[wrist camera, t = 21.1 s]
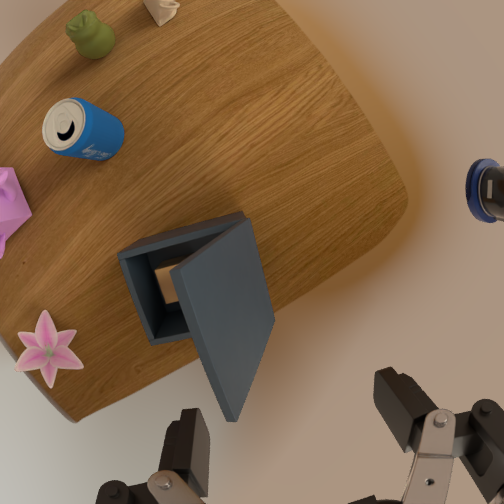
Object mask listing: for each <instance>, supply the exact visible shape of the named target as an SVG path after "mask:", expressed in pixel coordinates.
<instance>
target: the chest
mask: <svg viewBox="0 0 504 504" xmlns="http://www.w3.org/2000/svg"><path fill="white" fill-rule="evenodd" d="M242 219H246V217H245V215H244V213H243V211H241V212H237V213H233V214H229V215H225V216H221V217H218V218H214V219H210V220H206V221H203V222H199V223H195V224H192V225H188V226H184V227H181V228H177V229H174V230H170V231H167V232H163V233H160V234H156V235H153V236H149V237H146V238H143V239H139V240H138V241H136V242H134V243H133V244H131V245H130V246H128V247H126V248H125V249H123V250H122V251H120V252H119V253H117V256H118V259H119V262H120V265H121V268H122V271H123V274H124V277H125V280H126V283H127V286H128V288H129V291H130V294H131V297H132V299H133V302H134V305H135V307H136V310H137V312H138V315H139V317H140V320H141V323H142V325H143V327H144V330H145V332H146V335H147V337H148V339H149V342H150V344H151V346H153V345H158V344H163V343H168V342H173V341H178V340H183V339H187V338H192V336H191V333H190V331H189V328H188V325H187V323H186V320H185V317H184V314H183V311H182V309H181V306H180V303H179V301H177V302H172V303H168V304H166V302H165V299H164V297H163V294H162V291H161V288H160V285H159V282H158V279H157V276H156V273H155V269H156V268H157V267H158V266H159V265H160V263H161V262H162V261H165V260H169V259H172V258H176V257H180V256H183V255H187V254H191V253H195V252H196V251H198V250H199V249H201V248H202V247H203V246H205V245H206V244H208V243H209V242H211V241H212V240H213V239H215V238H216V237H218V236H219V235H221V234H222V233H224V232H225V231H226V230H228V229H229V228H231V227H232V226H234V225H235V224H237V223H238V222H240V221H241V220H242Z"/></svg>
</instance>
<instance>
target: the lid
mask: <svg viewBox="0 0 504 504" xmlns="http://www.w3.org/2000/svg"><path fill="white" fill-rule="evenodd" d="M169 273H170V276H171V279H172V282H173V285H174V288H175V291H176V294H177V297H178V300H179V303H180V306H181V309H182V311H183V314H184V317H185V320H186V323H187V325H188V328H189V331H190V333H191V336H192V339H193V341H194V344H195V347H196V349H197V352H198V354H199V357H200V360H201V362H202V365H203V367H204V370H205V372H206V375H207V377H208V379H209V382H210V384H211V387H212V389H213V391H214V394H215V396H216V398H217V401H218V403H219V405H220V408H221V410H222V412H223V414H224V417H225V419H226V421H227V422H237V420H238V418H239V415H240V413H241V410H242V408H243V405H244V402H245V400H246V397H247V395H248V392H249V390H250V387H251V384H252V382H253V379H254V376H255V374H256V371H257V369H258V366H259V363H260V361H261V358H262V355H263V352H264V350H265V347H266V344H267V341H268V338H269V336H270V333H271V330H272V328H273V325H274V322H275V317H274V313H273V309H272V305H271V301H270V297H269V293H268V289H267V285H266V281H265V277H264V273H263V269H262V265H261V261H260V257H259V253H258V249H257V245H256V241H255V237H254V233H253V229H252V225H251V221H250V218H246V219H242V220H241V221H240V222H238V223H237V224H235V225H234V226H232V227H231V228H229V229H228V230H226V231H225V232H224V233H222V234H221V235H219V236H218V237H216V238H215V239H213V240H212V241H211V242H209V243H208V244H206V245H205V246H203V247H202V248H201V249H199V250H198V251H196V252H195V253H193V254H192V255H191V256H189V257H188V258H186V259H185V260H184V261H182V262H181V263H179V264H178V265H177V266H175V267H174V268H172V269H171V270H170V271H169Z"/></svg>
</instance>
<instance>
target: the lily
mask: <svg viewBox="0 0 504 504" xmlns="http://www.w3.org/2000/svg"><path fill="white" fill-rule="evenodd" d="M76 332H77V330H65V331H61V332H57V331H56V328H55V325H54V323H53V321H52V319H51V317H50V315H49V313H48V311H47V310H44V311H43V312H42V313H41V315H40V317H39V320H38V322H37V325H36V328H35V333H31V332H19V333H18V336H19V338H20V340H21V341H22V342H23V344H24V345H25V346H26V347H27V349H26V350H25V351H24V352H23V353H22V355H21V356H20V358H19V359H18V361H17V363H16V365H15V371H17V372H21V371H29V370H36V369H40V370H41V373H42V375H43V377H44V379H45V381H46V383H47V385H48V386H49V387H50V388H52V387H53V384H54V381H55V377H56V373H57V368H61V369H83V368H84V366H83V364H82V362H81V361H80V360H79V359H78V357H77V356H76V355H75V354H74V353H73V352H72V351H71V350H70V349H69V348H68V347H67V346H68V345H69V344H70V342H71V341H72V339H73V338H74V336H75V334H76Z"/></svg>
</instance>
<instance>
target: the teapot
mask: <svg viewBox="0 0 504 504" xmlns="http://www.w3.org/2000/svg"><path fill="white" fill-rule="evenodd" d="M31 216H32V213H31V211H30V208H29V206H28V204H27V202H26V199H25V197H24V195H23V192H22V190H21V187H20V185H19V182H18V180H17V177H16V174H15V172H14V169H13V168H4V167H0V259H1V258H2V256H3V254H4V250H5V241H6V240H7V239H8V238H9V237H10V236H11V235H12V234H13V233H14V232H15V231H16V230H17V229H18V228H19V227H20V226H21V225H22V224H23V223H24V222H25V221H26V220H27V219H28V218H29V217H31Z"/></svg>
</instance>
